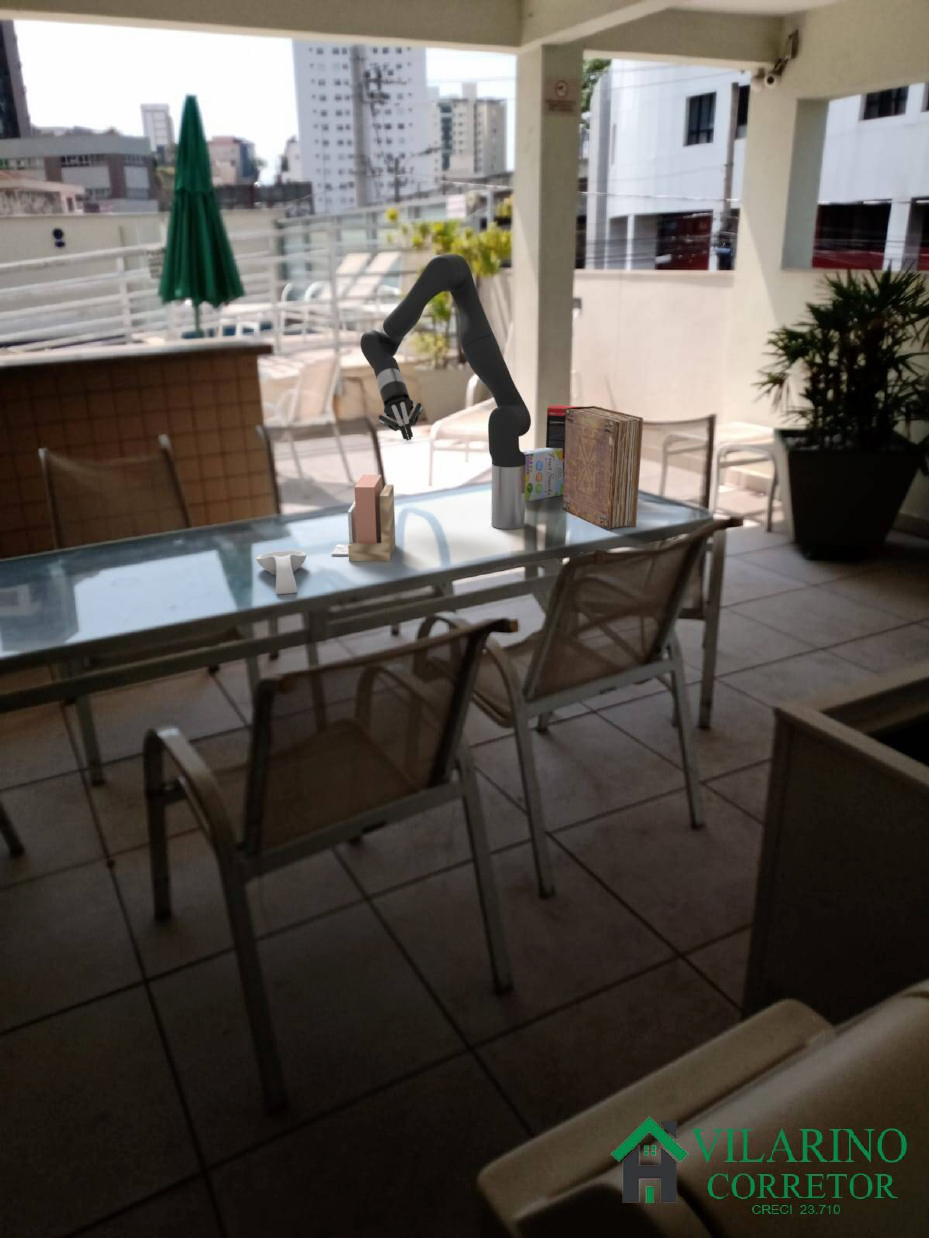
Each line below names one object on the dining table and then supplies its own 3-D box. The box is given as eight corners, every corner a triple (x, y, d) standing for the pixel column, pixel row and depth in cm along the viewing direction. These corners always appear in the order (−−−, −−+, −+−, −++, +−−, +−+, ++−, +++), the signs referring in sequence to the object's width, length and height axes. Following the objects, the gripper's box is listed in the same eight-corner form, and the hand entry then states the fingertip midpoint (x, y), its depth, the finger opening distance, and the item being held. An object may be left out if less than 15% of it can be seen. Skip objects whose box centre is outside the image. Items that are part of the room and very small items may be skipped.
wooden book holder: (395, 545, 234) (393, 484, 228) (389, 561, 221) (386, 497, 215) (357, 544, 234) (354, 484, 228) (348, 561, 221) (345, 497, 215)
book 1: (384, 542, 236) (381, 474, 230) (377, 558, 223) (374, 487, 217) (366, 542, 236) (363, 474, 230) (358, 558, 223) (354, 487, 217)
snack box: (555, 491, 288) (557, 444, 283) (567, 495, 284) (569, 447, 279) (503, 501, 277) (504, 452, 272) (514, 504, 273) (515, 455, 267)
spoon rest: (256, 565, 219) (253, 537, 216) (304, 561, 222) (302, 533, 219) (261, 597, 197) (258, 566, 195) (314, 592, 200) (312, 562, 198)
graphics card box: (598, 491, 288) (603, 405, 278) (597, 496, 281) (602, 408, 271) (545, 489, 290) (547, 404, 280) (543, 494, 284) (545, 407, 274)
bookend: (360, 544, 234) (358, 499, 230) (353, 558, 223) (350, 511, 218) (338, 544, 234) (335, 499, 230) (330, 558, 223) (327, 511, 219)
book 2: (636, 527, 248) (643, 418, 237) (608, 531, 245) (614, 420, 234) (588, 506, 270) (593, 405, 259) (562, 510, 267) (565, 407, 256)
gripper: (367, 388, 247) (382, 438, 240) (413, 373, 247) (429, 423, 240) (373, 404, 254) (388, 453, 247) (417, 390, 254) (433, 438, 247)
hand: (408, 438), depth 244 cm, fingers closed
